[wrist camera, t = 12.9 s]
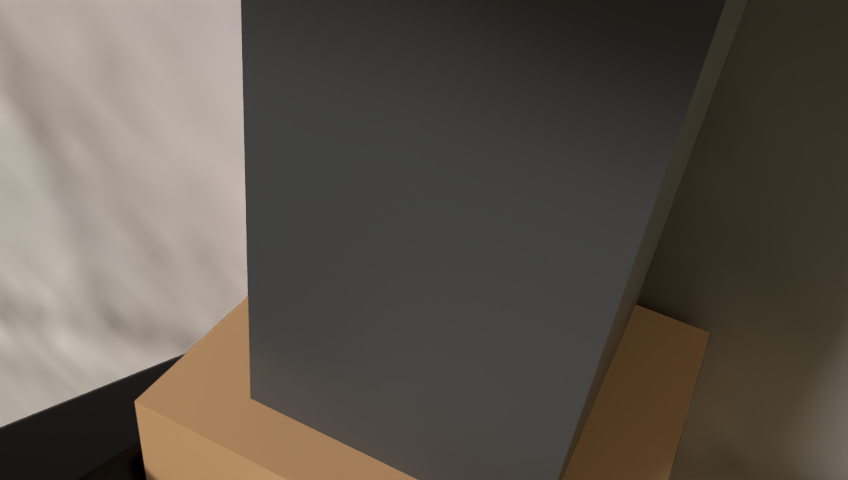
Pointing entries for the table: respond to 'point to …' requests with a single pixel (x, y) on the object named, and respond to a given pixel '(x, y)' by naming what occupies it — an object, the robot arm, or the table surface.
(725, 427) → the table surface
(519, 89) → the plug
